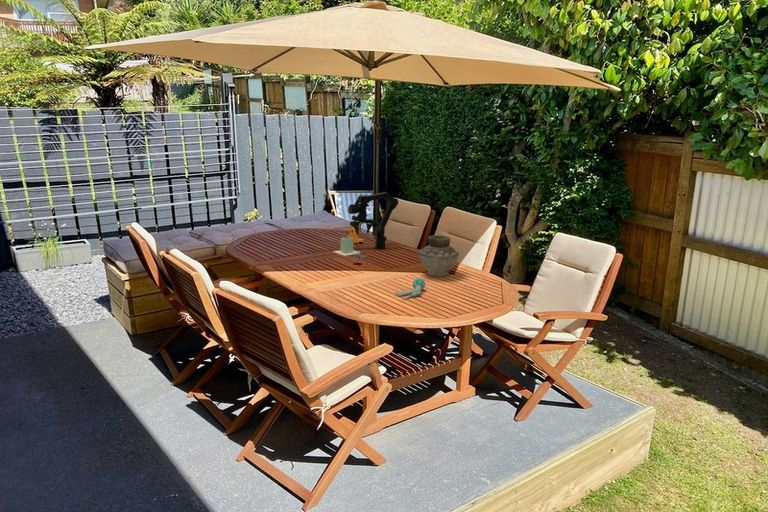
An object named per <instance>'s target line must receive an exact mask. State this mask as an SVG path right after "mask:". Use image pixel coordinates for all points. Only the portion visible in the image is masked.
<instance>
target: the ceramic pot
mask: <svg viewBox="0 0 768 512" xmlns="http://www.w3.org/2000/svg"><path fill="white" fill-rule="evenodd" d="M427 240H428V245H426V246H424V247H423V248H422V249H420V250H419V251H418V258H419V261H420V263H421V265H422V266H423V268H425V269H426V270H427V275H428V276H431V277H436V278H437V277H445V276H449V273H450V270H451V269H452V268H453V267H454V266H455V265H456V263H457V262H458V259H459V255H460V252H459V251H458V250H456V249H455V248H454V247H453V246H451V245H450V243H451V237H450V236H449V235H448V236H447V235H438V234H437V235H435V234H434V235H429V236H428V239H427Z"/></svg>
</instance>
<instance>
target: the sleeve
mask: <svg viewBox="0 0 768 512" xmlns="http://www.w3.org/2000/svg"><path fill="white" fill-rule="evenodd" d="M340 250H341V252H342V253H345V254H347V253H353V250H354V244H353V238H350V237H349V236H346V237H340Z"/></svg>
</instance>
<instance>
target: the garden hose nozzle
mask: <svg viewBox="0 0 768 512" xmlns="http://www.w3.org/2000/svg"><path fill="white" fill-rule="evenodd" d="M412 287H413V289H406V290H401V291H395V292H394V293H395V295H397V296H399V297H402V298H401V300H402V299H406V300H409V299H411V297H412V298H413V297H418V296H419V295H421V294H422V291H423V289H424V288H425V287H426V281H425V279H423V278H421V277H417V278H415V279H414V280H413V282H412ZM405 295H406V296H405ZM397 296H396V297H397ZM403 296H404V297H403ZM408 298H409V299H408Z"/></svg>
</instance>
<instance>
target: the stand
mask: <svg viewBox="0 0 768 512" xmlns="http://www.w3.org/2000/svg"><path fill="white" fill-rule="evenodd" d="M356 251H357V254H351V255H350V256H349V258H354V259H360V260H361V259H364V258H367V257H368V256H369V255H367V254H361V251H360V250H356Z"/></svg>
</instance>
